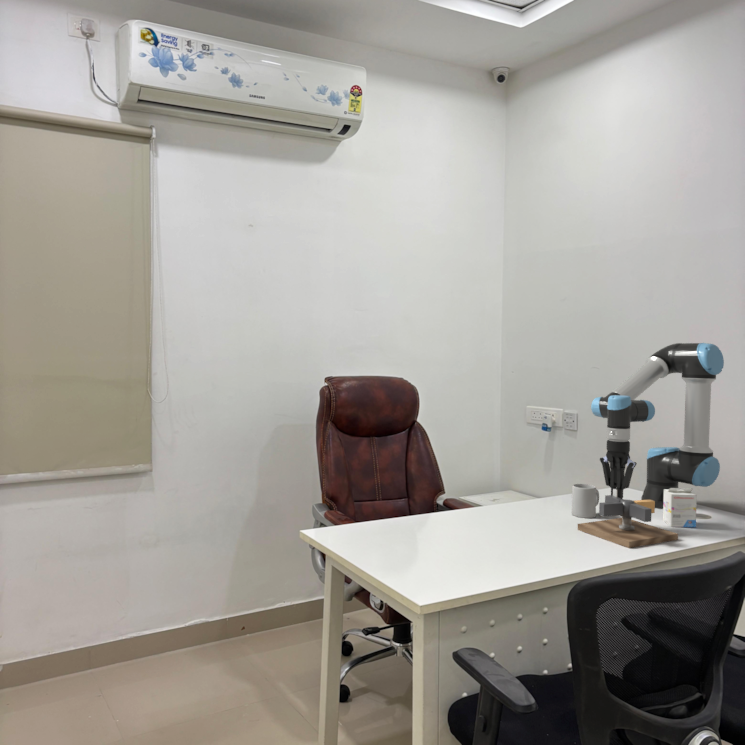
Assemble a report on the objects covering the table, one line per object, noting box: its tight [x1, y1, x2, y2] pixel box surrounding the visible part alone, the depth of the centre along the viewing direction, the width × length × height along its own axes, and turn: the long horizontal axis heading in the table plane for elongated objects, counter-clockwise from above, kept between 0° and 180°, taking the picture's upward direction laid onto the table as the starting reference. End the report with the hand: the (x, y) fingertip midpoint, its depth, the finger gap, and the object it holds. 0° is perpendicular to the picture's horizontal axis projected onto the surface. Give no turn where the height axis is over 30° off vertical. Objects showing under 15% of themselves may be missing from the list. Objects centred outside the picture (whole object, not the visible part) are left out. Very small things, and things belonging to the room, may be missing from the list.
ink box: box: [662, 487, 698, 528], centre depth 226 cm, size 9×8×13 cm
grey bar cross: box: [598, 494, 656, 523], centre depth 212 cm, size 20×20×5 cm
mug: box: [571, 483, 600, 519], centre depth 237 cm, size 12×8×11 cm
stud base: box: [577, 516, 679, 549], centre depth 212 cm, size 22×22×6 cm
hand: (616, 507), depth 221 cm, fingers closed
